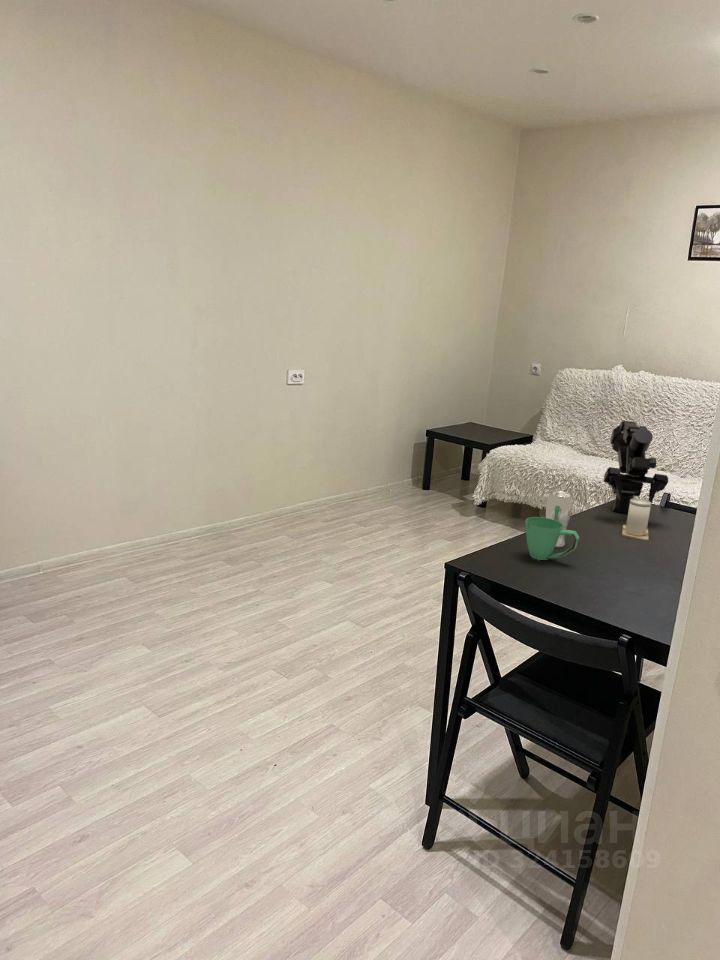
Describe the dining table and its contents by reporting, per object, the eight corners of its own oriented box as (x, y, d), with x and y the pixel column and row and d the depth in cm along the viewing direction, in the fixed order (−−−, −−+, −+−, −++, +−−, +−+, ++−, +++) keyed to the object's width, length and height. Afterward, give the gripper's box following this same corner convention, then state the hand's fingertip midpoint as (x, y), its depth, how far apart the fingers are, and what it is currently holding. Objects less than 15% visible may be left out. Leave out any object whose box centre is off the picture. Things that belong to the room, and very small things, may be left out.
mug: (515, 557, 196) (520, 522, 194) (527, 548, 205) (532, 514, 202) (569, 571, 189) (575, 535, 187) (579, 561, 197) (585, 526, 195)
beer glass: (542, 538, 215) (549, 489, 211) (566, 542, 213) (574, 492, 209) (540, 545, 208) (547, 494, 205) (565, 549, 206) (572, 498, 203)
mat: (622, 525, 233) (623, 523, 233) (647, 530, 231) (648, 527, 230) (622, 536, 222) (622, 533, 222) (648, 540, 220) (648, 538, 219)
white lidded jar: (622, 528, 227) (627, 497, 225) (642, 530, 227) (647, 499, 225) (628, 534, 221) (634, 503, 219) (648, 536, 221) (654, 504, 219)
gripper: (613, 442, 231) (611, 484, 224) (673, 451, 229) (674, 494, 222) (604, 460, 241) (602, 501, 234) (662, 468, 239) (662, 510, 231)
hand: (635, 501), depth 230 cm, fingers open, 9 cm apart
